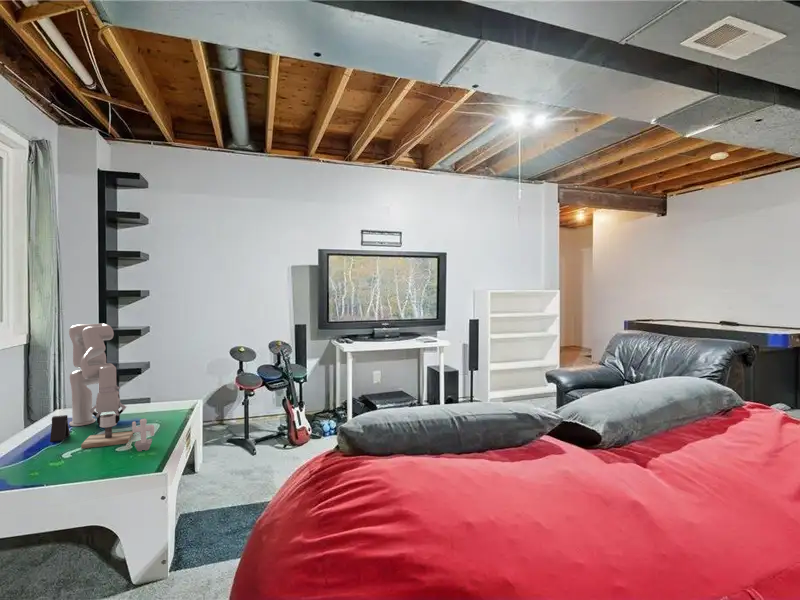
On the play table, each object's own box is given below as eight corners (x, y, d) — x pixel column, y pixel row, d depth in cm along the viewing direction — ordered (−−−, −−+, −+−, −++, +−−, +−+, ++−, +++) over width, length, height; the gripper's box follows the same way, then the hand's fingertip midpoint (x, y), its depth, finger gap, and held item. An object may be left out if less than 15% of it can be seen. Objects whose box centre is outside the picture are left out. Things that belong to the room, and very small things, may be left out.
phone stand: (63, 440, 225) (63, 417, 225) (49, 441, 223) (49, 419, 222) (70, 434, 233) (69, 413, 233) (56, 436, 231) (56, 414, 231)
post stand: (89, 439, 227) (89, 422, 227) (133, 434, 234) (133, 418, 234) (81, 448, 214) (81, 430, 214) (127, 443, 221) (127, 426, 221)
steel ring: (102, 424, 226) (102, 414, 226) (117, 422, 228) (117, 413, 228) (98, 428, 219) (98, 418, 219) (114, 426, 222) (114, 416, 222)
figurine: (154, 450, 212) (153, 420, 212) (131, 453, 208) (131, 422, 208) (154, 445, 219) (154, 416, 218) (133, 448, 215) (132, 418, 214)
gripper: (128, 386, 230) (129, 419, 231) (90, 389, 224) (90, 423, 224) (125, 389, 223) (126, 423, 224) (85, 392, 217) (86, 427, 217)
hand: (108, 423), depth 224 cm, fingers closed on steel ring, 7 cm apart
